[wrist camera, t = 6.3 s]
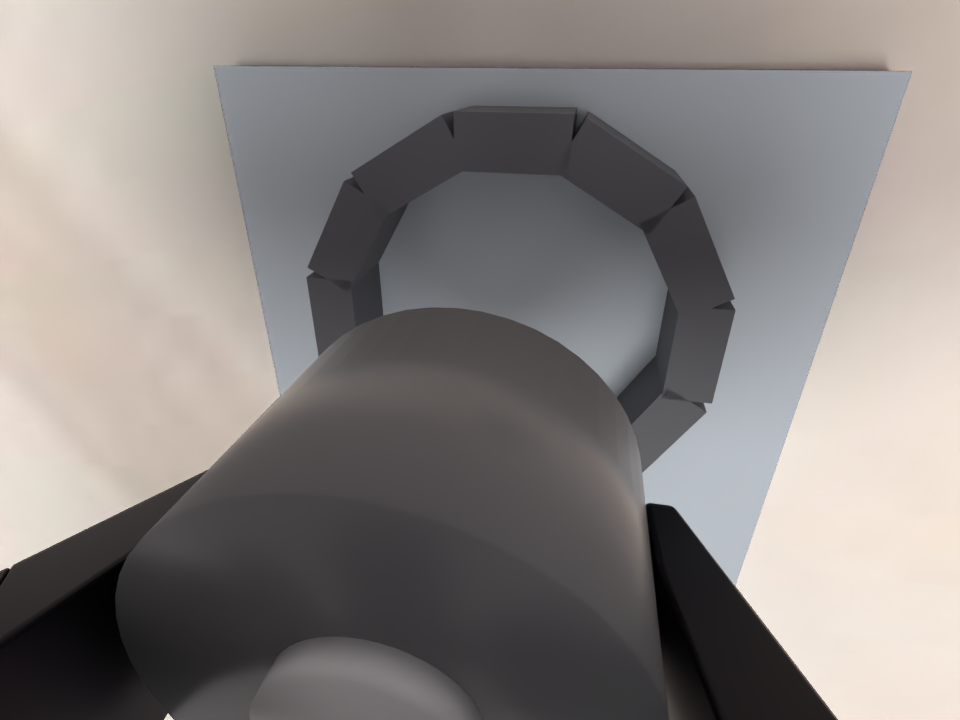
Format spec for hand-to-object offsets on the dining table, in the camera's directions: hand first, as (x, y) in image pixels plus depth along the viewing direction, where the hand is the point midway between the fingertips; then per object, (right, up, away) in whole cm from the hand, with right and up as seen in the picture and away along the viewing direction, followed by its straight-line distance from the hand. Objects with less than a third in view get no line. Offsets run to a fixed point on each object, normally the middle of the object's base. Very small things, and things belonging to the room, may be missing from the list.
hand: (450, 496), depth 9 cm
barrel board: (+2, +1, +9) cm, 10 cm away
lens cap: (0, 0, 0) cm, 1 cm away
